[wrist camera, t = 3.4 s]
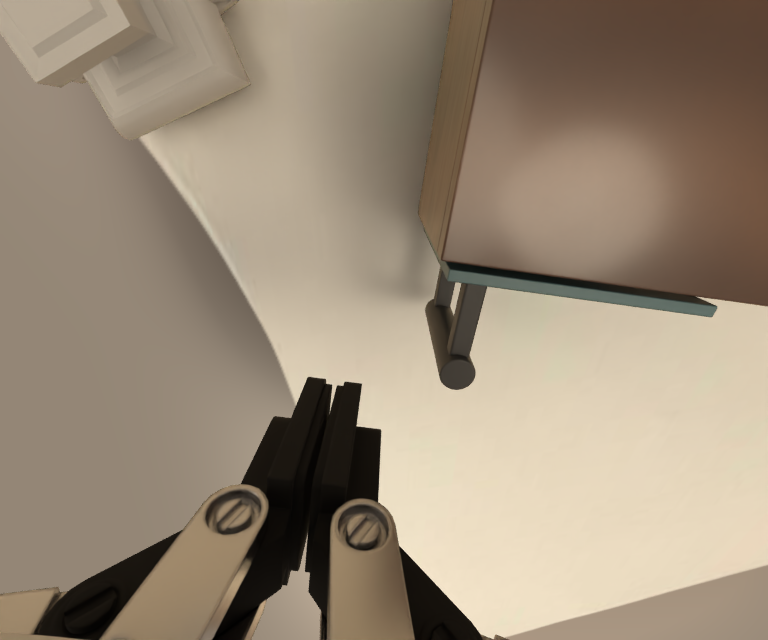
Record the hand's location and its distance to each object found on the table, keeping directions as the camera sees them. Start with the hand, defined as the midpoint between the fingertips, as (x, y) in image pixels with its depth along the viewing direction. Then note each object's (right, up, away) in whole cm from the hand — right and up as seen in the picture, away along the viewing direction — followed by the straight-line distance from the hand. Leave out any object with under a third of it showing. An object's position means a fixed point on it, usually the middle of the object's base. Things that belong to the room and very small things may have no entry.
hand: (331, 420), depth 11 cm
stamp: (-9, +17, +7) cm, 20 cm away
